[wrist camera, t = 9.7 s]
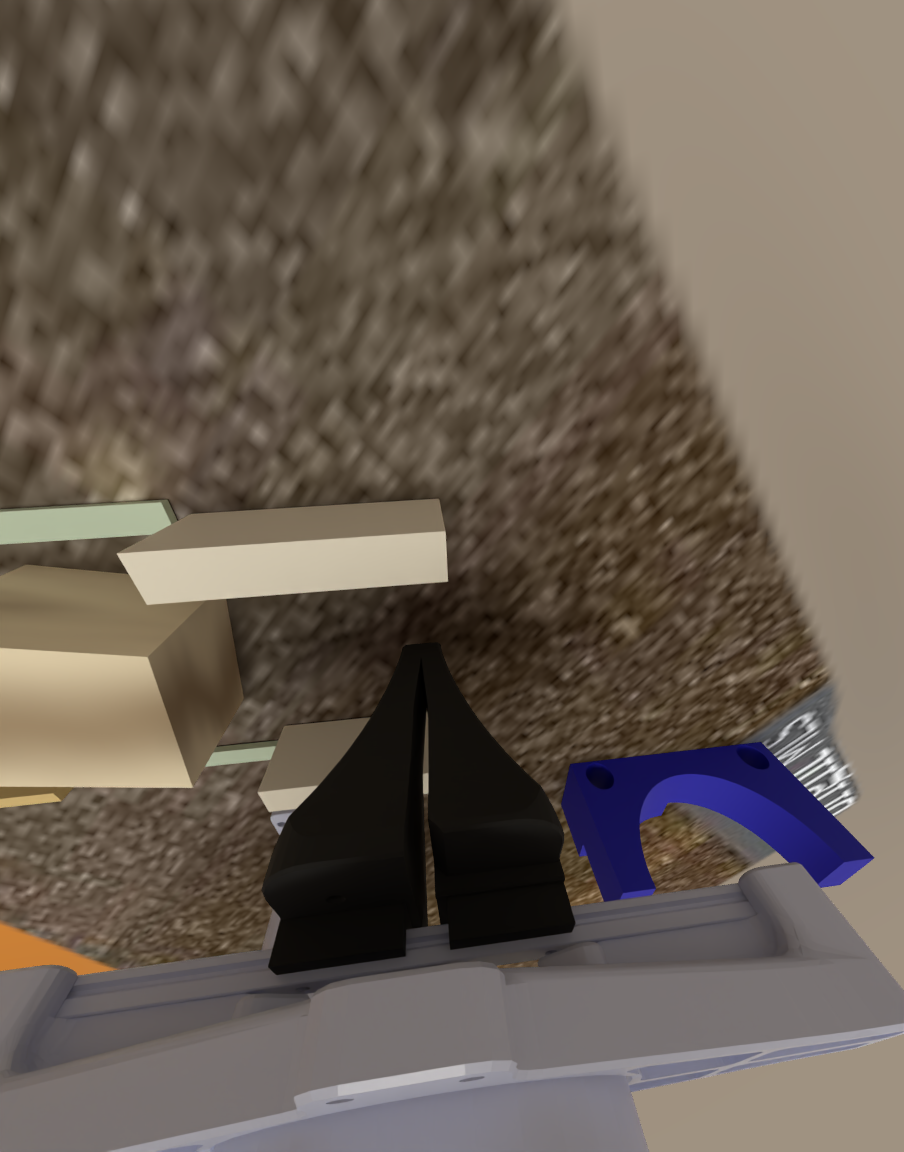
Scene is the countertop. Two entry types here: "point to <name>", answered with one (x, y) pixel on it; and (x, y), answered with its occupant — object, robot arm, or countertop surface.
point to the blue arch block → (712, 780)
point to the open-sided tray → (31, 795)
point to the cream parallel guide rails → (294, 590)
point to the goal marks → (102, 524)
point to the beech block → (109, 682)
